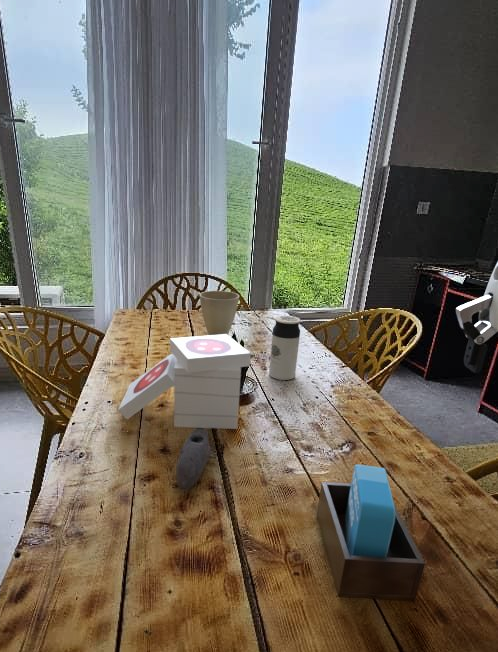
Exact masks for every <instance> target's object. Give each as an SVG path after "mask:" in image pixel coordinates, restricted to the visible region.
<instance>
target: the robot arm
mask: <svg viewBox="0 0 498 652" xmlns="http://www.w3.org/2000/svg"><path fill="white" fill-rule="evenodd" d="M476 313H478V322H476V323H475V324H474V323H473V318H472V317H473V315H474V314H476ZM455 314H456V318H457V321H458V327H459V328H460V329H461V331H462V332H463V333H464V335H465V338H466V339H468V341H467V344H466V348H465V352H464V356H463V364H464V367H465V368H466V369H468V370H469V371H471V372H472V373H473V374H479V373H481V372H482V368H483V365H484V361H485V358H486V356H487V355H486V354H487V351H488V345H487V344H485V342H487V341H488V340H489V339H490V338H492V337H493V336H494V335H495V334H497V333H498V261H497V262H496V264H495V266H494V268H493V270H492V273H491V275H490V278H489V279H488V283H487V286H486V289H485V292H484V294H483V296H480V297H478V298H477V299H474V300H472V301H468V302H466V303H464V304H461V305H459V306H457V307H456V308H455Z"/></svg>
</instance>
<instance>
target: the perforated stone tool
mask: <svg viewBox="0 0 498 652" xmlns="http://www.w3.org/2000/svg"><path fill="white" fill-rule="evenodd" d="M179 452H180V453H179V455H178V459H177V463H176V474H175V475H176V483H177V487H178V489H179V490H180V491H182V492H186V491H188V490H190V489H191V488H193V487H194V486H195V484H196V483H197V482H198V481H199V479H200V477H201V476H202V474H203V472H204V469H205V467H206V465H207V463H208V461H209V457H210V455H211V445H210V438H209V434H208V431H207V430H206V429H203V428H193V430H192V431H191V432H190V434H188V436H187V438H186V440H185V441H184V443H183V445H182V448H181V450H180V451H179Z"/></svg>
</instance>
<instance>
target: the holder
mask: <svg viewBox="0 0 498 652" xmlns="http://www.w3.org/2000/svg"><path fill="white" fill-rule="evenodd" d="M350 487H351V482H348V483H347V482H331V481H330V482H329V481H321V483H320V489H319V490H320V491H319V496H318V503H317V509H316V516H317V520H318V521H317V522H318V525H319V528H320V531H321V537H322V540H323V543H324V547H325V552H326V555H327V559H328V563H329V567H330V570H331V575H332V579H333V582H334V586H335V590H336V594H337V597H339V598H356V599H372V600H373V599H375V600H391V601H408V602H415V601H416V598H417V595H418V591H419V587H420V585H421V580H422V576H423V573H424V569H425V566H426V562H425V560H424V559H423V557H422V554H421V553H420V551H419V548H418V547H417V545H416V543H415V541H414V540H413V538H412V536H411V534H410V531H409V530H408V528H407V526H406V524H405V522H404V519H403V518H402V516H401V514H400V513H399V510H398V509H397V508H398V507H397V506H396V504H395V503H394V506H395V523H394V527H393V531H392V536H391V540H390V544H389V548H388V553H387V557H371V556H353V555H349V551H348V548H347V545H346V532H345V515H346V509H347V504H348V498H349V493H350Z"/></svg>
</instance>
